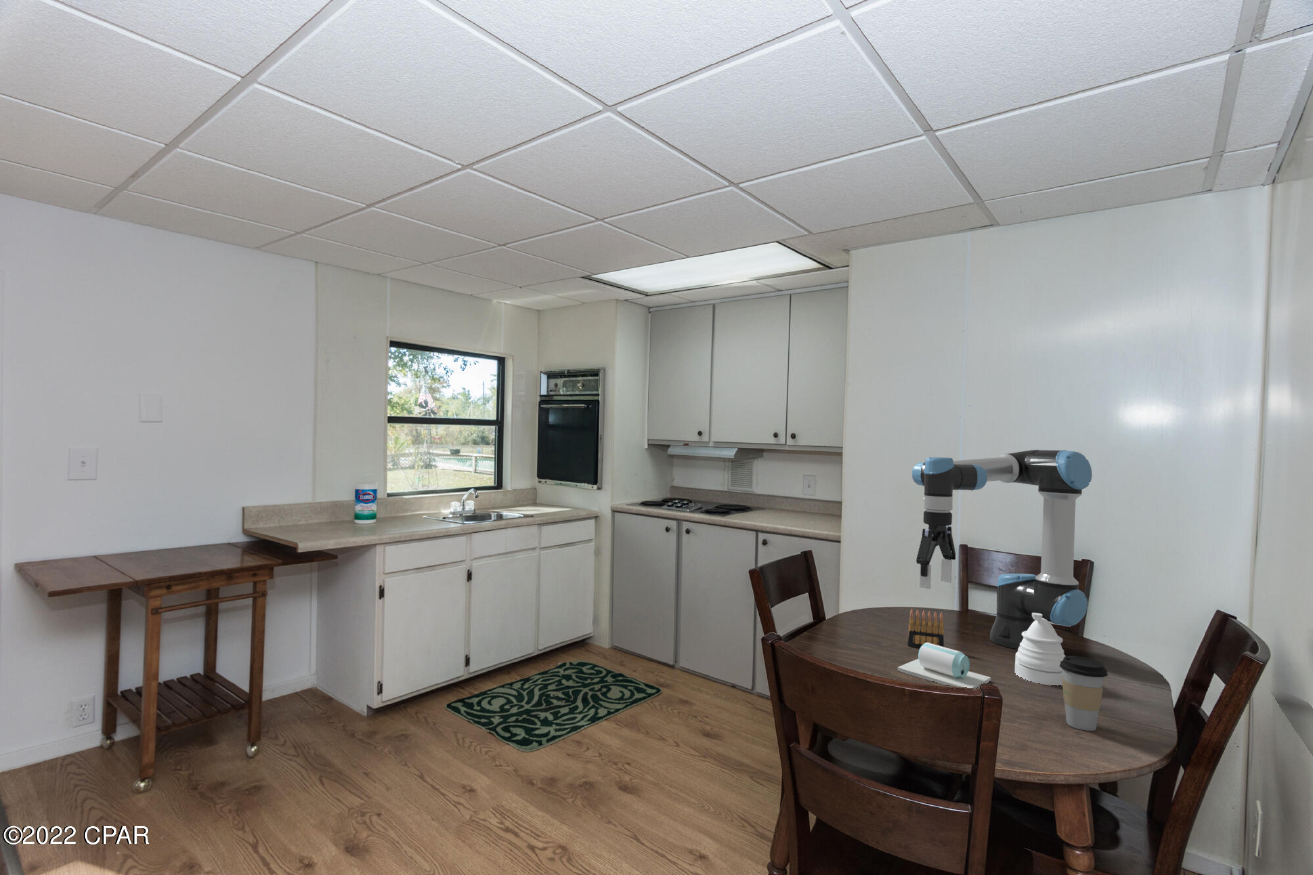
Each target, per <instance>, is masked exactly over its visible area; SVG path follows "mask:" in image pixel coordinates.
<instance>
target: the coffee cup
mask: <svg viewBox="0 0 1313 875" xmlns="http://www.w3.org/2000/svg"><path fill="white" fill-rule="evenodd" d="M1059 666H1060V667H1061V668H1062V676H1063V677H1062V685H1061V686H1062V694H1063V696H1062V697H1063V702H1064V711H1065V722H1066V723H1067V725H1068V726H1070V727H1072V728H1073V729H1077V730H1081V731H1087V732H1093V731H1096V729H1097V724H1098V718H1099V711H1100V709H1101V703H1102V699H1103V698H1102V697H1103V691H1104V678H1105V677H1108V675H1109V674H1108V670H1107V669H1106V668H1105V665H1104V663H1102V662H1100V661H1099V660H1097V659H1092V658H1088V657H1086V656H1085V657H1083V656H1079V655H1065V657H1064V659H1063V661H1061V662H1060V665H1059Z"/></svg>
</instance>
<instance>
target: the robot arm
mask: <svg viewBox="0 0 1313 875" xmlns="http://www.w3.org/2000/svg"><path fill="white" fill-rule="evenodd" d="M911 477H912V480H913V482H914V483H915V484H916V485H918V486H923V488H924V490H923V495H924V497H923V498H922V501H923V508H924V511H923V518H922V519H923V524H925V525H928V526H927V527H928V528H922V531H921V532H922V533H921V539H920V543H919V546H918V547H919V548H918V551H917V555H916V560H915V562H916V564H918V565H919V568H920V569H919V572H920V573H919V588H923V589H928V590H930V589H931V585H932V584H931V580H932V565H930V563H931V561H932V558H933V555H934V553H935V550H936V547H938V548H939V549H940V552H941V555H942V557H943V558H941V564H940V565H941V566H940V567H941V569H940V571H941V572H940V574H941V575H940V581H941V582H944V583H952V577H953V576H952V574H953V573H952V572H953V571H952V570H953V568H952V567H953V561H955V560H956V559H957V558H956V557H957V556H956V549H955V548H956V547H955V544H954V538H953V532H952V531H953V530H952V528H953V527H952V526H951V525H953V513H952V512H951V511H952V510H953V501H954V500H953V495H954V494H953V493H954V491H971V492H972V491H976V490H981V489H983V488H984V487H985V486H986V484H987V482H988V483H989V482H999V481H1000V482H1002V483H1004V484H1010V483H1017V484H1023V485H1029V486H1030V485H1031V486H1038V488H1037V491H1038V493H1039V494H1040V495H1041V496H1042V498H1043V501H1042V502H1043V504H1042V505H1043V507H1042V508H1043V509H1042V532H1041V533H1042V535H1041V560H1040V573H1039V574H1037V575H1036V574H1032V573H1001V574H999V575H998V577H997V584H996V617H995V620H994V623H993V624H992V627H991V629H990V631H989V632H990V633H989V640H990V641H991V642H992V643H994V644H996V645H999V646H1002V647H1006V648H1011V649H1014V650H1015V649H1016V650H1018V648H1019V647H1020V643H1021V642H1022V640H1023V638H1024V637H1023V636H1022V632H1024V631H1027V630H1028V629H1029V627H1030V626H1031V624H1032V623H1033V622H1034V621H1035V620H1034V619H1033V617H1032V613H1039V614H1042V618H1044V619H1046V620H1047V621H1048V622H1049V623H1052V624H1054V625H1057V626H1058V625H1060V626H1064V627H1072V626H1075V625H1077V624H1079V623H1080V622H1081V620H1083V618H1084V616H1085V615H1086V612H1087V609H1088V605H1089V603H1088V598H1087V597H1086V594H1085V592H1083V591H1082V590H1080V589H1079V586H1080V584H1079V581H1078V580H1077V579H1076V578H1075V577H1074V560H1075V559H1074V558H1075V557H1074V556H1075V532H1076V530H1075V528H1076V503H1077V499H1079V497H1081V496H1082V495H1083V492H1082V491H1083V490H1084V489H1086V488H1088V487H1089V486H1090V483H1091V482H1092V478H1093V471H1092V465H1091V464H1090V461H1089V460H1088V459H1087V457H1086V456H1085V455H1084V454H1082V453H1081V452H1079V451H1074V450H1067V449H1066V450H1065V449H1064V450H1063V449H1062V450H1055V449H1054V450H1053V449H1051V450H1050V449H1049V450H1048V449H1031V450H1024V451H1015V452H1010V453H1009V452H1008V453H1003V454H1000V455H998V456H996V457H987V458H985V457H984V458H973V459H960V460H954V459H953V458H952V457H942V456H941V457H940V456H938V457H937V456H928V457H927V458H926V459H925V461H923V462H922V461H921V462H918V463H916V464H914V466H913V468H912V470H911Z"/></svg>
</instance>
